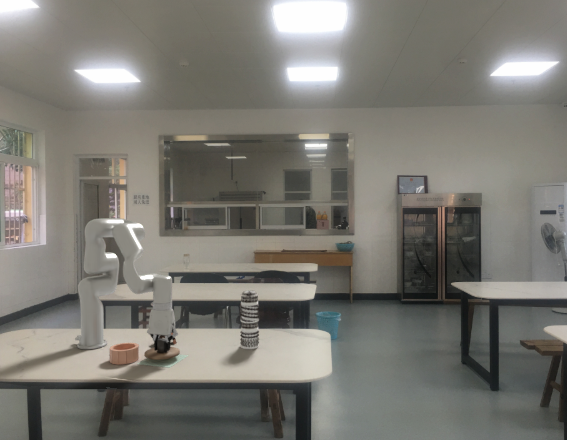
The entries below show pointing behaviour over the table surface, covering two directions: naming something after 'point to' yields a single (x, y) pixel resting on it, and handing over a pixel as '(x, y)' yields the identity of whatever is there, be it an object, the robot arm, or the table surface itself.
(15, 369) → the table surface
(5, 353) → the table surface
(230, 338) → the table surface
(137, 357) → the bowl
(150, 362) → the mat
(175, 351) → the lid
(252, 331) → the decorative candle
